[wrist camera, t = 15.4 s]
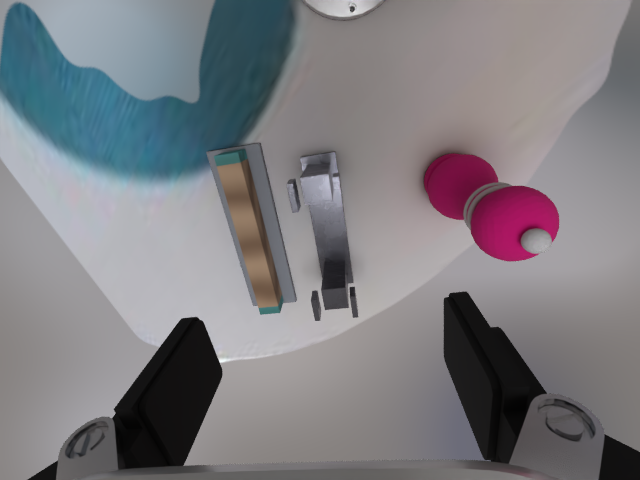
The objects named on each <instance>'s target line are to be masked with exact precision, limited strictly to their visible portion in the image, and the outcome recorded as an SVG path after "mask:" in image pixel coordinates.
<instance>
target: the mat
mask: <svg viewBox="0 0 640 480" xmlns="http://www.w3.org/2000/svg"><path fill="white" fill-rule="evenodd" d="M241 149H245V150H246V154H247V158H248V161H249V165H250V169H251V173H252V177H253V181H254V185H255V189H256V193H257V197H258V201H259V205H260V209H261V213H262V217H263V221H264V225H265V229H266V233H267V237H268V241H269V245H270V249H271V253H272V257H273V261H274V265H275V269H276V272H277V276H278V280H279V284H280V288H281V292H282V296H283V300H284V301H283V303H289V302H296V300H297V299H296V294H295V290H294V286H293V281H292V277H291V273H290V269H289V264H288V260H287V256H286V251H285V247H284V243H283V239H282V234H281V230H280V226H279V221H278V217H277V213H276V208H275V204H274V200H273V196H272V191H271V187H270V183H269V178H268V174H267V170H266V165H265V161H264V157H263V153H262V148H261V144H260V143H256V144H250V145H244V146H238V147H232V148H226V149H220V150H214V151H208V152H206V153H207V156H208V159H209V163H210V166H211V169H212V172H213V176H214V179H215V182H216V186H217V189H218V192H219V195H220V199H221V202H222V205H223V208H224V212H225V215H226V218H227V222H228V225H229V228H230V231H231V235H232V238H233V241H234V245H235V248H236V251H237V254H238V258H239V261H240V264H241V267H242V271H243V274H244V277H245V281H246V284H247V287H248V290H249V294H250V297H251V300H252V303H253V306H258V304H257V301H256V298H255V294H254V291H253V288H252V284H251V281H250V277H249V274H248V271H247V267H246V264H245V261H244V257H243V254H242V250H241V247H240V244H239V240H238V237H237V233H236V230H235V227H234V223H233V220H232V217H231V213H230V210H229V206H228V203H227V200H226V196H225V193H224V190H223V186H222V183H221V179H220V176H219V173H218V169H217V166H216V162H215V159H214V156H215V155H218V154H220V153H223V152H228V151H234V150H241Z"/></svg>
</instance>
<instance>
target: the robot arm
mask: <svg viewBox="0 0 640 480" xmlns="http://www.w3.org/2000/svg"><path fill="white" fill-rule="evenodd" d="M302 1H303V2H304V3H305V4H306V5H307V6H308V7H309V8H311V9H312V10H313V11H315V12H316V13H318V14H320V15H322V16H324V17H327V18H330V19H333V20H350V19H356V18H359V17H361V16H364V15H366V14H368V13H370V12H371V11H373V10H374V9H376V8H377V7H379V6H380V5H381V4H382V3H383V2H384V1H385V0H302ZM351 7H353V8H354V9H355V11H354V12H350V8H351ZM444 358H445V362H446V365H447V368H448V370H449V373H450V375H451V378H452V380H453V383H454V385H455V388H456V391H457V393H458V396H459V398H460V400H461V403H462V406H463V408H464V411H465V413H466V416H467V418H468V421H469V423H470V426H471V428H472V431H473V433H474V436H475V438H476V441H477V443H478V446H479V448H480V451H481V453H482V455H483V458H484V459H485V460H491V461H478V460H372V461H327V462H292V463H291V462H290V463H257V464H256V463H255V464H224V465H195V466H183V465H184V463H185V461H186V459H187V457H188V454H189V452H190V449H191V447H192V445H193V443H194V440H195V438H196V436H197V434H198V431H199V429H200V427H201V424H202V422H203V420H204V418H205V415H206V413H207V411H208V408H209V406H210V404H211V402H212V399H213V397H214V394H215V392H216V390H217V388H218V385H219V383H220V381H221V378H222V368H221V365H220V363H219V360H218V358H217V355H216V353H215V350H214V348H213V345H212V342H211V340H210V337H209V335H208V332H207V330H206V327H205V325H204V323H203V321H202V320H199V318H197V317H191V318H183V319H181V320H180V321H179V322H178V324H177V325H176V326H175V328H174V329H173V330H172V332H171V333H170V334H169V336H168V337H167V338H166V340H165V341H164V342H163V344H162V345H161V347H160V348H159V349H158V351H157V352H156V353H155V355H154V356H153V357H152V359H151V360H150V362H149V363H148V364H147V365H146V367H145V368H144V370H143V371H142V372H141V373H140V375H139V376H138V378H137V379H136V380H135V382H134V383H133V384H132V386H131V387H130V388H129V390H128V391H127V392H126V394H125V395H124V396H123V398H122V399H121V400H120V402H119V403H118V404H117V406H116V407H115V408H114V410H115V412H116V414H115V415H114V417H113V418H110V417H100V418H96V419H94V420H91V421H89V422H87V423H86V424H84V425H83V426H81V427H80V428H78V429H77V430H76V431H75V432H74V433H73V434H72V435H71V436H70V437H69V438H68V439H67V440H66V441H65V443H64V444H63V446H62V448H61V450H60V453H59V457H58V461H56V462H55V463H53V464H51V465H50V466H48V467H47V468H45V469H44V470H42V471H41V472H39V473H37V474H36V475H34V476H33V477H31V478H29V479H28V480H640V452H638V451H637V450H634V449H632V448H631V447H629V446H627V445H625V444H623V443H621V442H619V441H617V440H615V439H613V438H611V437H609V436H607V435H605V434H604V429H603V427H602V424H601V423H600V421H599V419H598V418H597V417H596V416H595V415H594V414H593V413H592V412H591V411H590V410H589V409H588V408H586V407H585V406H584V405H582V404H581V403H579V402H577V401H575V400H573V399H571V398H569V397H566V396H562V395H558V394H547V393H546V391H545V390H544V389H543V387H542V386H541V384H540V383H539V381H538V380H537V379H536V377H535V376H534V374H533V373H532V372H531V370H530V369H529V367H528V366H527V365H526V363H525V362H524V360H523V359H522V357H521V356H520V354H519V353H518V352H517V350H516V349H515V348H514V346H513V345H512V343H511V342H510V340H509V339H508V337H507V336H506V335H505V333H504V332H503V331H502V329H501V328H499V327H490V326H489V324H488V323H487V321H486V320H485V318H484V317H483V315H482V314H481V312H480V311H479V309H478V308H477V306H476V305H475V303H474V301H473V300H472V299H471V297H470V295H469V294H468V293H467V292H458V293H450V294H449V297H447V298H444Z"/></svg>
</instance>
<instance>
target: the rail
mask: <svg viewBox="0 0 640 480" xmlns="http://www.w3.org/2000/svg"><path fill="white" fill-rule="evenodd" d="M214 159H215V162H216V166H217V169H218V173H219V176H220V179H221V183H222V186H223V190H224V193H225V196H226V200H227V203H228V206H229V210H230V213H231V217H232V220H233V223H234V227H235V230H236V233H237V237H238V240H239V244H240V247H241V250H242V254H243V257H244V261H245V264H246V267H247V271H248V274H249V277H250V281H251V284H252V288H253V291H254V294H255V298H256V301H257V304H258V308H259V311H260V315H261V314H272V313H280V311H281V308H282V304H283V301H284V300H283V296H282V292H281V288H280V284H279V280H278V276H277V272H276V269H275V265H274V261H273V257H272V253H271V249H270V245H269V241H268V237H267V233H266V229H265V225H264V221H263V217H262V213H261V209H260V205H259V201H258V197H257V193H256V189H255V185H254V181H253V177H252V173H251V169H250V165H249V161H248V158H247V154H246V150H245V149H241V150H234V151H228V152H223V153H220V154H218V155H215V156H214Z"/></svg>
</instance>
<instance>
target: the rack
mask: <svg viewBox="0 0 640 480" xmlns="http://www.w3.org/2000/svg"><path fill="white" fill-rule="evenodd" d="M300 159H301V165H302V170H303V174H302V175H301V177H300V181H301V186H302V191H303V197H304V202H305V205H309V208H310V213H311V219H312V224H313V229H314V235H315V240H316V246H317V251H318V256H319V262H320V267H321V273H322V278H323V279H322V288H321V291H322V296H323V302H324V307H325V310H329V309H340V308H349V304H348V283H353V276H352V269H351V262H350V255H349V247H348V240H347V233H346V226H345V218H344V211H343V199H342V192H341V184H340V177H339V172H338V168H337V161H336V154H335V152H329V153H323V154H316V155H310V156H304V157H301V158H300ZM287 189H288V194H289V198H290V203H291V208H292V213H295V212H298V211H299V209H300V206H301V205H300V200H299V195H298V190H297V185H296V180H295V179H291V180H289V182H288V183H287ZM350 300H351V307H352V313H353V318H355V317H358V309H357V301H356V293H355V287H350ZM311 303H312V308H313V312H314V317H315V321H320V317H321V307H320V302H319V297H318V291H312V298H311Z"/></svg>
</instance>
